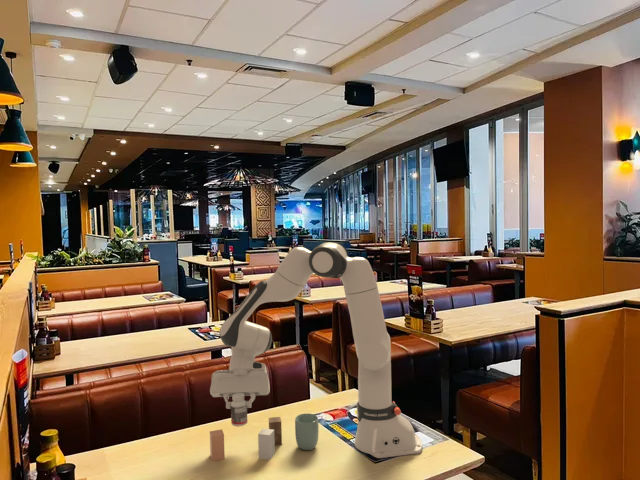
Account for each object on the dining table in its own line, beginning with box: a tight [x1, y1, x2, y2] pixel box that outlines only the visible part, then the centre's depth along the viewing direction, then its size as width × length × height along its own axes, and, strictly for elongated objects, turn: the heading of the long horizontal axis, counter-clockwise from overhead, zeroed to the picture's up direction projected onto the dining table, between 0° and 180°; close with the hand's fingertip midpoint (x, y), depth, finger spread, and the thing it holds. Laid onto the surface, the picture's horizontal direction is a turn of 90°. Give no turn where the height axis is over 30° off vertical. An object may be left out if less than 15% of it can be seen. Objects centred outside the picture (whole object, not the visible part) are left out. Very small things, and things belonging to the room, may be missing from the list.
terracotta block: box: [209, 428, 226, 462], centre depth 153 cm, size 4×4×8 cm
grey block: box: [257, 428, 276, 461], centre depth 153 cm, size 4×4×8 cm
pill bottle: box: [230, 393, 249, 428], centre depth 158 cm, size 5×5×10 cm
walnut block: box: [268, 416, 283, 446], centre depth 162 cm, size 4×4×8 cm
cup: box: [294, 413, 320, 451], centre depth 158 cm, size 8×8×10 cm
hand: (238, 407), depth 158 cm, fingers closed on pill bottle, 5 cm apart
